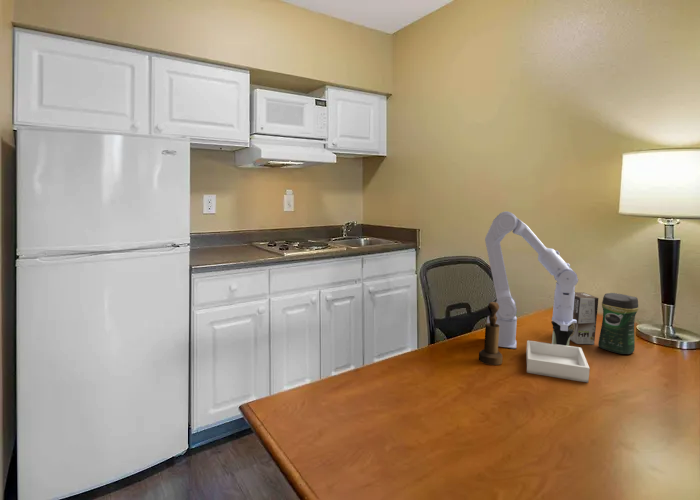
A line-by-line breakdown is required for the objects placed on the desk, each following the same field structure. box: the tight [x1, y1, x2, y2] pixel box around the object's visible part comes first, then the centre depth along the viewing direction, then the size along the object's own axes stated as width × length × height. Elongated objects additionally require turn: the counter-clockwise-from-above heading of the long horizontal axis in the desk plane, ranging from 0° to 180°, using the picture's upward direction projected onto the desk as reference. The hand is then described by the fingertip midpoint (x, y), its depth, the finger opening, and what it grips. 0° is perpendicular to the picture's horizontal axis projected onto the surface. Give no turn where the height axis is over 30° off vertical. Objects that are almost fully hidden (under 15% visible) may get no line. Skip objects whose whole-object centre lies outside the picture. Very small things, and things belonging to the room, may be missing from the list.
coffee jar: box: [598, 292, 639, 355], centre depth 133 cm, size 10×8×19 cm
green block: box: [551, 330, 571, 346], centre depth 132 cm, size 4×4×6 cm
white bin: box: [525, 339, 591, 383], centre depth 120 cm, size 15×17×4 cm
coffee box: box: [569, 291, 600, 345], centre depth 143 cm, size 9×6×16 cm
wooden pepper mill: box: [478, 301, 503, 366], centre depth 122 cm, size 7×6×18 cm
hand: (560, 346), depth 133 cm, fingers open, 5 cm apart
